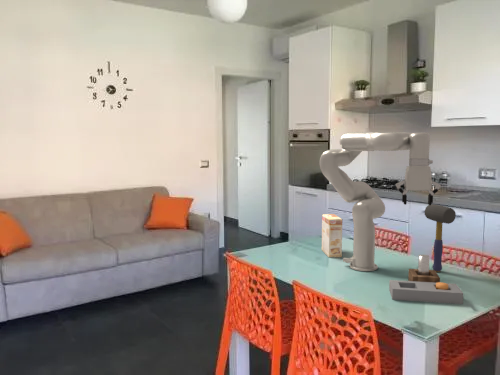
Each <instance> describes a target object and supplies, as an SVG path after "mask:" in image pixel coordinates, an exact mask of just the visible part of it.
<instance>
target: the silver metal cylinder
mask: <svg viewBox="0 0 500 375" xmlns="http://www.w3.org/2000/svg"><path fill="white" fill-rule="evenodd" d="M417 264H418V267H417V269H418V275H425V276H429V270H430V255H428V254H418V263H417Z"/></svg>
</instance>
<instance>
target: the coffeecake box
mask: <svg viewBox="0 0 500 375" xmlns="http://www.w3.org/2000/svg"><path fill="white" fill-rule="evenodd" d="M342 248H343V219H342V218H341V217H339V216H338V215H336V214H334V213H331V214H330V213H326V214H324V213H323V214H322V215H321V251H322V252H323V253H324V254H325V255H326V256H327V257H328V258H342V257H343V256H342V255H343V253H342V252H343V251H342V250H343V249H342Z"/></svg>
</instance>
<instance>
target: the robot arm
mask: <svg viewBox="0 0 500 375" xmlns="http://www.w3.org/2000/svg"><path fill="white" fill-rule="evenodd" d="M430 135H431V134H429V133H428V132H405V131H404V132H403V131H402V132H401V131H398V132H397V131H394V132H393V131H392V132H375V131H360V132H359V131H356V132H353V131H352V132H346V133H344V134H343V135H341V136H340V138H339V146H340V148H335V149H327V150H326V151H324V152H322V154H320V158H319V169H320V172H321V173H322V175H323V176H324V177H325V178H326V180H327V181H328V182H329V183H330V184H331V185H332V186H333V189H335V190H336V192H337V193H338V194H339V195H340V196H341V198H342V199H343V201H344V202H346V203H349V204H350V203H354V205H353V206H352V208H351V213H352V215H351V216H352V220H353V244H352V245H353V248H352V249H353V252H352V256H350V257H343V258H342V261H343V263H347V264H349V268H350V269H352V270H355V271H358V272H359V271H360V272H374V271H376V270H378V265H377V264H376V263H375V250H376V248H375V247H376V245H375V244H376V227H375V223H374V219H377V218H380V217H382V216H384V214H385V212H386V206H385V203H384V201H383V199H382V198H381V197H380V196H379V195H378V194H377V193H376V192H375V190H374V189H373V188H372V187H371V186H370V185H369V184H368V183H366V182H364V181H361V180H360V181H359V180H357V181H354V180H353V179H352V178H351V177H350V176H349V175H348V174H347V172H345V171H344V170H343V169H341V168H340V167H346V166H349V165H350V164H352V162H353V161H355V159H356V158H357V157H358V156H359V155H360V154H361V153H362V152H374V151H375V152H376V151H380V152H382V151H384V152H385V151H387V152H388V151H389V152H390V151H391V152H394V151H395V152H396V151H409V154H408V156H409V158H408V160H409V161H408V165H407V166H406V169H405V174H404V180H401V181H399V182H397V183H395V186H396V189H397V190H398V192H400V194H402V196H401V197H402V198H401V201H402V203H403V205H404V206H405V205H407V198H408V197H407V196H408V195H407V193H408V192H409V191H411V192H422V191H423V192H428V197H427V204H428V205H431V204H433V202H434V196H435V194H436V193H437V192H439V189H441V184H439V183H437V182H435V181H434V180H433V179H432V169H431V166H430V165H431V164H432V165H433V162H434V161H433V160H431V159H430V146H431V144H430V141H431V136H430ZM401 186H404V189H402V187H401ZM432 186H434V187H435V188H433V189H432Z"/></svg>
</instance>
